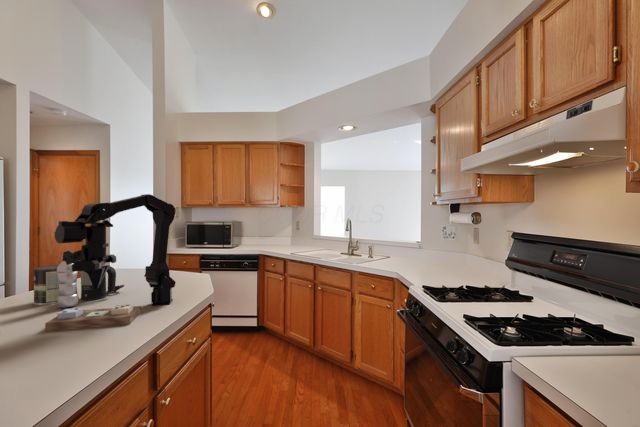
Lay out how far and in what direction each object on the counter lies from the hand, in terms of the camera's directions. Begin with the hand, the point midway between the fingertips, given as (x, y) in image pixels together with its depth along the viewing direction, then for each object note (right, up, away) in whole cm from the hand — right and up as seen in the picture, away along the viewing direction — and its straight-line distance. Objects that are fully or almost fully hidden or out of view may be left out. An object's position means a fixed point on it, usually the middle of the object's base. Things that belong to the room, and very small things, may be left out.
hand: (95, 288), depth 104 cm
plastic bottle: (-23, -11, +17) cm, 30 cm away
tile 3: (+8, -9, +2) cm, 12 cm away
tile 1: (0, -10, 0) cm, 10 cm away
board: (0, -11, 0) cm, 11 cm away
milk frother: (-21, -11, +34) cm, 42 cm away
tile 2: (-7, -9, -2) cm, 11 cm away
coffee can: (-36, -12, +25) cm, 45 cm away
